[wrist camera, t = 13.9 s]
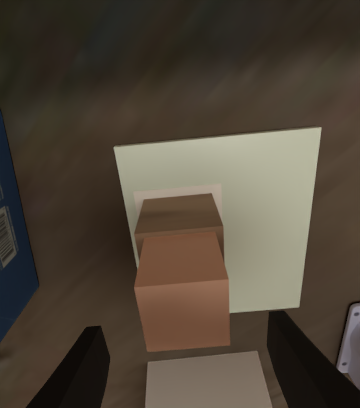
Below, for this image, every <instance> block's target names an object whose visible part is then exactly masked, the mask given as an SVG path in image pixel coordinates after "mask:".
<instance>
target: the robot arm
mask: <svg viewBox="0 0 360 408" xmlns="http://www.w3.org/2000/svg"><path fill="white" fill-rule="evenodd" d="M267 348H268V351H269V355H270V358H271V362H272V365H273V368H274V372H275V374H276V377H277V379H278V382H279V385H280V387H281V390H282V392H283V395H284V397H285V400H286V402H287V405H288V407H289V408H360V303H356V304H353V305H351V307H350V310H349V314H348V318H347V323H346V327H345V331H344V336H343V340H342V344H341V349H340V353H339V357H338V362H337V366H336V367H335V366H334V365H333V364H332V363H331V362H330V361H329V360H328V359H327V358H326V357H325V356H324V355H323V354H322V352H321V351H320V350H319V349H318V348H317V347H316V346H315V345H314V344H313V343H312V342H311V341H310V340H309V339H308V337H307V336H306V335H305V334H304V333H303V332H302V331H301V330H300V328H299V327H298V326H297V325H296V324H295V323H294V322H293V320H292V319H291V318H290V317H289V316H288V314H287V313H286V312H285V311H272V312H269V320H268V335H267ZM109 363H110V355H109V352H108V349H107V345H106V342H105V338H104V335H103V332H102V328H101V326H91V327H86V328H85V329H84V331H83V332H82V334H81V335H80V337H79V338H78V339H77V341H76V342H75V344H74V345H73V346H72V348H71V349H70V351H69V352H68V354H67V355H66V356H65V358H64V359H63V360H62V362H61V363H60V364H59V366H58V367H57V368H56V370H55V371H54V373H53V374H52V375H51V377H50V378H49V379H48V380H47V382H46V383H45V384H44V386H43V387H42V388H41V389H40V391H39V392H38V393H37V394H36V395H35V397H34V398H33V399H32V400H31V402H30V403H29V404H28V405H27V407H26V408H100V407H101V403H102V399H103V396H104V392H105V388H106V383H107V377H108V370H109ZM342 373H348V374H349V376H350V377H351V379H352V380H353V382H354V384H355V385H356V386H355V385H354V384H353V383H352V382H351V381H350V380H348V379H347V378H346V377H345V376H344V375H343V374H342Z"/></svg>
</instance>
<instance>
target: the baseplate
mask: <svg viewBox="0 0 360 408" xmlns="http://www.w3.org/2000/svg"><path fill="white" fill-rule="evenodd" d="M320 135H321V127H318V126H314V127H303V128H293V129H282V130H272V131H262V132H251V133H241V134H230V135H220V136H210V137H199V138H189V139H179V140H168V141H158V142H147V143H137V144H127V145H116V146H115V147H114V151H115V156H116V162H117V167H118V172H119V177H120V182H121V187H122V192H123V198H124V203H125V208H126V213H127V218H128V223H129V229H130V234H131V239H132V244H133V249H134V254H135V259H136V265H137V270H138V266H139V258H138V252H137V247H136V242H135V236H134V232H135V229H136V225H137V222H138V218H139V215H140V211H141V207H142V204H143V200H144V199H153V198H164V197H175V196H186V195H197V194H208V193H212V195H213V198H214V201H215V204H216V207H217V209H218V212H219V215H220V218H221V221H222V223H223V228H224V264H225V268H226V271H227V275H228V278H229V313H236V312H248V311H260V310H272V309H284V308H296V307H299V304H300V296H301V288H302V280H303V272H304V264H305V256H306V248H307V240H308V232H309V223H310V215H311V207H312V199H313V191H314V183H315V175H316V167H317V159H318V151H319V143H320Z"/></svg>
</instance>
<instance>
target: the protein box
mask: <svg viewBox="0 0 360 408" xmlns="http://www.w3.org/2000/svg"><path fill="white" fill-rule="evenodd" d="M38 287H39V284H38V280H37V275H36V271H35V266H34V262H33V257H32V253H31V248H30V244H29V239H28V234H27V230H26V225H25V221H24V216H23V211H22V207H21V202H20V197H19V192H18V188H17V183H16V178H15V174H14V169H13V165H12V160H11V155H10V150H9V146H8V141H7V137H6V132H5V128H4V123H3V118H2V114H1V110H0V342H1V341H2V339H3V338H4V336H5V335H6V333H7V332H8V331H9V329H10V328H11V326H12V325H13V323H14V322H15V321H16V319H17V318H18V316H19V315H20V313H21V312H22V310H23V309H24V308H25V306H26V305H27V303H28V302H29V300H30V299H31V297H32V296H33V294H34V293H35V292H36V290H37V289H38Z"/></svg>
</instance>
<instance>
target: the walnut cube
mask: <svg viewBox="0 0 360 408" xmlns="http://www.w3.org/2000/svg"><path fill="white" fill-rule="evenodd" d="M205 232H215V233H216V236H217V240H218V243H219V247H220V250H221V254H222V257H223V261H224V228H223V223H222V221H221V218H220V215H219V212H218V209H217V207H216V204H215V201H214V198H213V195H212V193H208V194H197V195H186V196H175V197H164V198H153V199H144V200H143V204H142V207H141V211H140V215H139V218H138V222H137V225H136V229H135V232H134V236H135V242H136V247H137V252H138V258H139V261H140V256H141V251H142V246H143V242H144V238H149V237H161V236H172V235H183V234H194V233H205Z"/></svg>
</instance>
